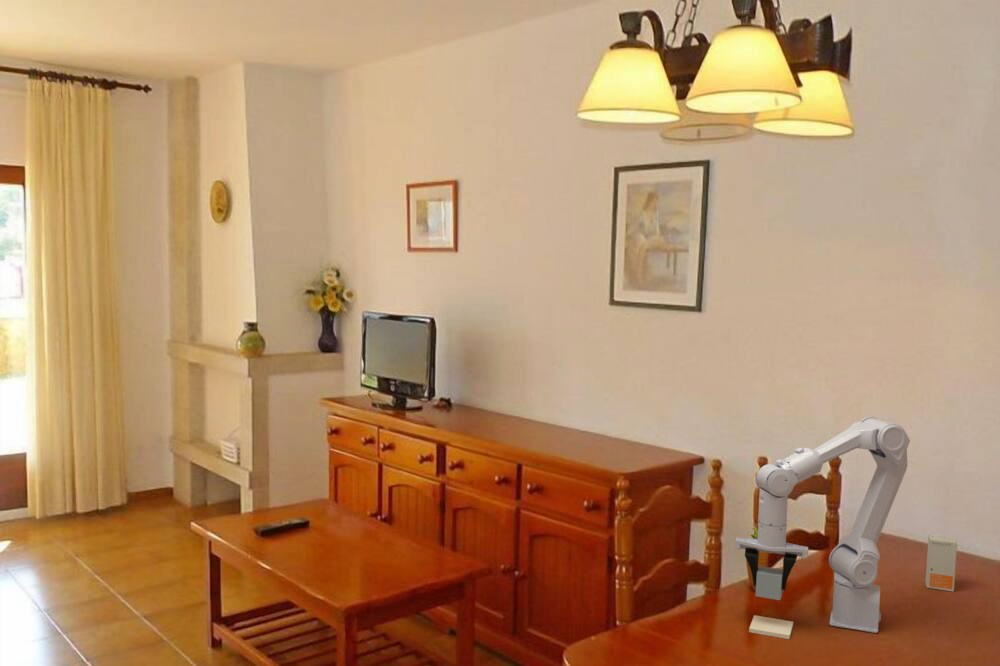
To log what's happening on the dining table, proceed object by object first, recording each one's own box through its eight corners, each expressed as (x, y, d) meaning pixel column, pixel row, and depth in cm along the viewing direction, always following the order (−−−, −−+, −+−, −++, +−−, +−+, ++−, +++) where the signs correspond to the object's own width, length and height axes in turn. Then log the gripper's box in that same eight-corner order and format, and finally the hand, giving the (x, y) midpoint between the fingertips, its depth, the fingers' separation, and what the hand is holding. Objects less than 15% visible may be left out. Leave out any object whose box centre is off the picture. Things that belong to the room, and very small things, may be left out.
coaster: (793, 625, 188) (793, 621, 188) (789, 639, 180) (789, 635, 180) (754, 618, 191) (754, 615, 191) (749, 632, 183) (749, 628, 183)
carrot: (767, 595, 205) (770, 531, 204) (745, 593, 206) (748, 530, 205) (765, 588, 210) (768, 526, 209) (743, 586, 211) (746, 524, 210)
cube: (782, 592, 188) (784, 569, 188) (780, 600, 184) (781, 576, 183) (758, 588, 190) (759, 565, 190) (755, 596, 186) (756, 572, 185)
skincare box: (926, 588, 212) (929, 539, 212) (925, 583, 216) (927, 534, 216) (954, 592, 210) (957, 542, 209) (953, 586, 214) (955, 538, 213)
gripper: (810, 522, 187) (807, 585, 188) (739, 514, 192) (736, 575, 193) (807, 531, 180) (805, 596, 181) (734, 522, 186) (732, 585, 187)
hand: (769, 586), depth 187 cm, fingers closed on cube, 5 cm apart
